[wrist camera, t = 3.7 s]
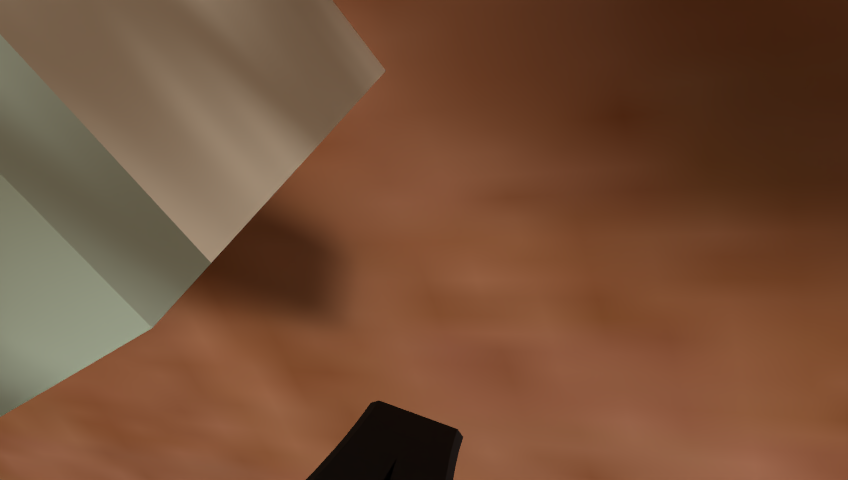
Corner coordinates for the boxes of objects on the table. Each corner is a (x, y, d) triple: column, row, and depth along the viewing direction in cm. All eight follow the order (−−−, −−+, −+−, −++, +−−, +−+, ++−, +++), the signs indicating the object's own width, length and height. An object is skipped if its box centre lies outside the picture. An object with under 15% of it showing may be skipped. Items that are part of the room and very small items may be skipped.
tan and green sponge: (386, 70, 11) (152, 327, 7) (224, 184, 14) (-37, 438, 9) (201, -173, 10) (-233, -64, 6) (57, -6, 13) (-340, 171, 8)
